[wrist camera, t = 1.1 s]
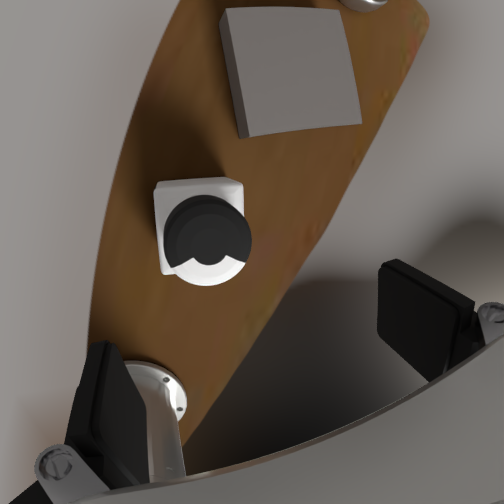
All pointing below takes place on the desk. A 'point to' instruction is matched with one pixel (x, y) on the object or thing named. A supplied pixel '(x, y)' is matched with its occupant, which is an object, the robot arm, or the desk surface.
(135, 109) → the desk surface
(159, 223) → the medicine bottle
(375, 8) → the plastic bottle
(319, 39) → the base block
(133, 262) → the desk surface
